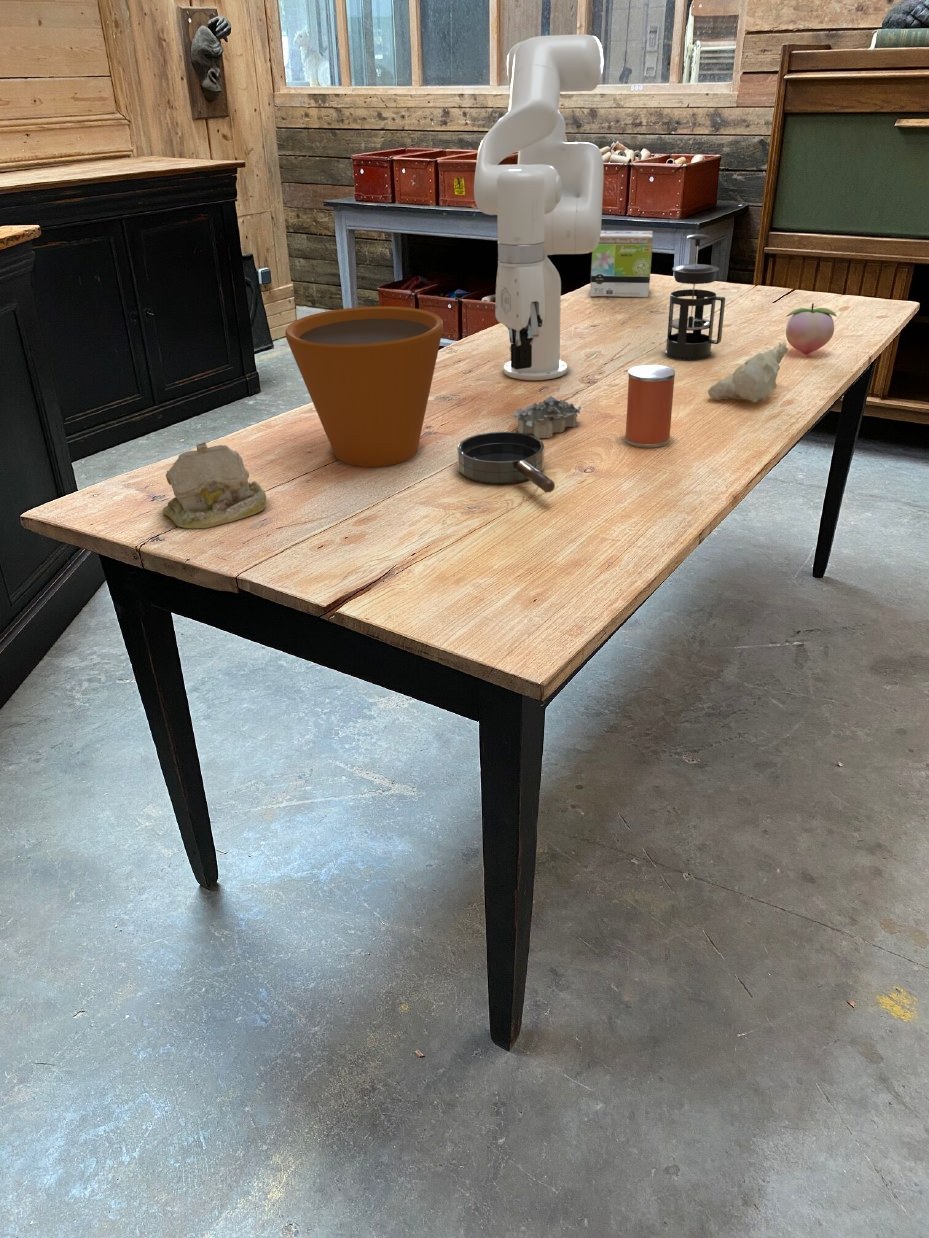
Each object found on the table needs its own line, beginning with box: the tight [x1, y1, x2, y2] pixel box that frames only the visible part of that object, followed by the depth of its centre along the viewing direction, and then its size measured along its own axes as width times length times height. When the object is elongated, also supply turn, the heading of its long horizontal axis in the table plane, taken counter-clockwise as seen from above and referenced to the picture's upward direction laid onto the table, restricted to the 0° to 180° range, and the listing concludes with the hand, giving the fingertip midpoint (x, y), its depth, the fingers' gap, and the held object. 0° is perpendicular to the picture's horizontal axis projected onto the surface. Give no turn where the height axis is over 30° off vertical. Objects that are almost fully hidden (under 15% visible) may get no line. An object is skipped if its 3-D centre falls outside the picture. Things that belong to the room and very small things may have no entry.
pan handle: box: [516, 460, 556, 493], centre depth 132 cm, size 10×2×2 cm, turn 23°
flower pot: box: [284, 305, 444, 468], centre depth 147 cm, size 24×24×20 cm
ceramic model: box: [162, 441, 267, 529], centre depth 131 cm, size 14×11×10 cm
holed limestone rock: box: [707, 342, 789, 403], centre depth 166 cm, size 15×7×15 cm
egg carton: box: [512, 395, 582, 439], centre depth 157 cm, size 11×8×4 cm
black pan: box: [456, 431, 546, 485], centre depth 142 cm, size 13×13×4 cm
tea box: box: [589, 230, 654, 299], centre depth 240 cm, size 15×10×15 cm, turn 80°
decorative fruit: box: [785, 303, 838, 355], centre depth 188 cm, size 9×8×10 cm
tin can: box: [624, 364, 676, 449], centre depth 148 cm, size 7×7×11 cm
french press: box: [664, 233, 726, 362], centre depth 187 cm, size 12×9×23 cm
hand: (521, 367), depth 161 cm, fingers closed
